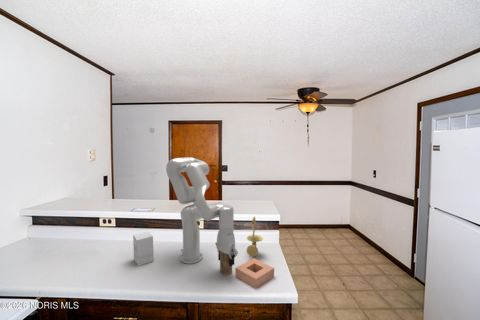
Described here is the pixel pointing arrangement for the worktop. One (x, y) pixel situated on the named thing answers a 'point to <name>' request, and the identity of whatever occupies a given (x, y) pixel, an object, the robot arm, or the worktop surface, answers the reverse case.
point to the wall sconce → (253, 242)
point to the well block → (254, 272)
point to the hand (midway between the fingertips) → (226, 262)
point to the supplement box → (143, 248)
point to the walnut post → (225, 263)
